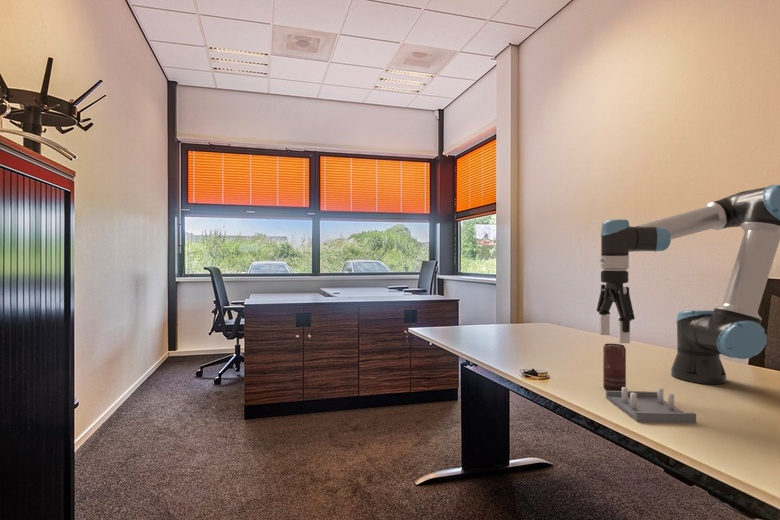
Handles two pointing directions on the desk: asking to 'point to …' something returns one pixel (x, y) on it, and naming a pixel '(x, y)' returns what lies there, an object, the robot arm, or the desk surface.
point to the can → (614, 367)
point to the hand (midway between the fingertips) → (613, 339)
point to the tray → (649, 406)
